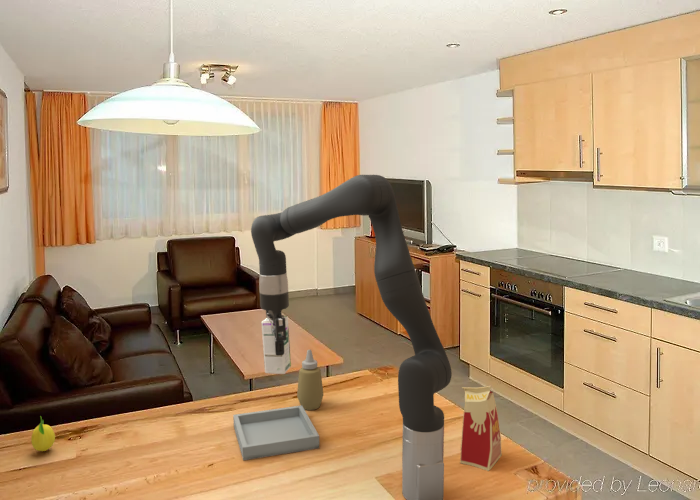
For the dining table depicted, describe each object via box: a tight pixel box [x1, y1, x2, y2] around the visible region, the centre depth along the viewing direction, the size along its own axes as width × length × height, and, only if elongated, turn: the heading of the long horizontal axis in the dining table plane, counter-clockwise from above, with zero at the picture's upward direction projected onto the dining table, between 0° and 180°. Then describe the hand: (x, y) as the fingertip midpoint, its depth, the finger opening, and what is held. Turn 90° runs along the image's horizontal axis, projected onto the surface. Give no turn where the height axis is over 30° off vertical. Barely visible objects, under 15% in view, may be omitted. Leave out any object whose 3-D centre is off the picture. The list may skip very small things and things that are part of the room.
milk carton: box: [459, 385, 503, 472], centre depth 151 cm, size 9×9×20 cm
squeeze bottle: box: [296, 349, 324, 411], centre depth 183 cm, size 8×8×18 cm
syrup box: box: [261, 315, 292, 375], centre depth 160 cm, size 6×6×14 cm
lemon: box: [30, 415, 56, 452], centre depth 157 cm, size 7×6×10 cm
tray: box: [232, 405, 320, 461], centre depth 165 cm, size 20×20×4 cm
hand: (276, 350), depth 161 cm, fingers closed on syrup box, 7 cm apart
